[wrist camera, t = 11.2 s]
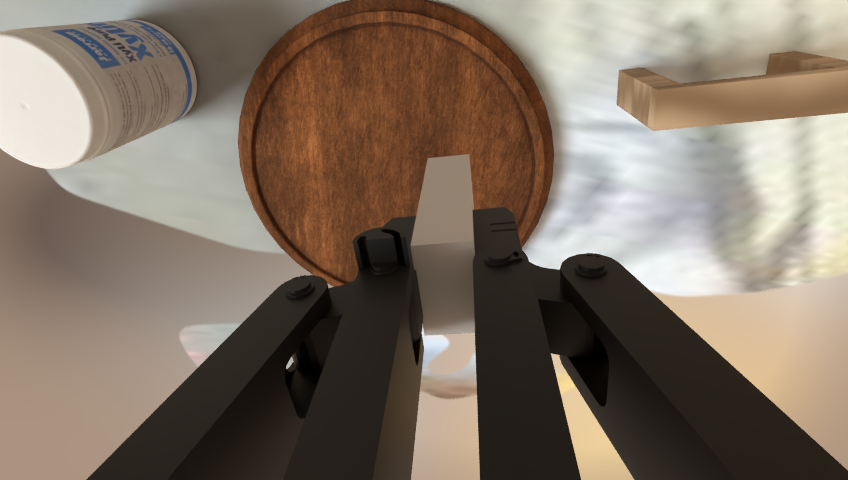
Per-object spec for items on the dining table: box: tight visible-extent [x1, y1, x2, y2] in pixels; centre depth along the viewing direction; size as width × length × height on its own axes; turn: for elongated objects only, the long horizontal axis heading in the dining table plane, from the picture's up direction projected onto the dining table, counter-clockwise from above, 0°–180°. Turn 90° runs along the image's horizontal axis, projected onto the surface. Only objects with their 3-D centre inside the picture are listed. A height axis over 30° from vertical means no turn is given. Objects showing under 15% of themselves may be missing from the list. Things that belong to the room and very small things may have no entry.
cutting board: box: [238, 0, 554, 287], centre depth 47 cm, size 32×32×3 cm
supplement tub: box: [0, 20, 197, 169], centre depth 39 cm, size 10×10×15 cm
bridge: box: [617, 52, 848, 131], centre depth 38 cm, size 3×15×9 cm, turn 97°
